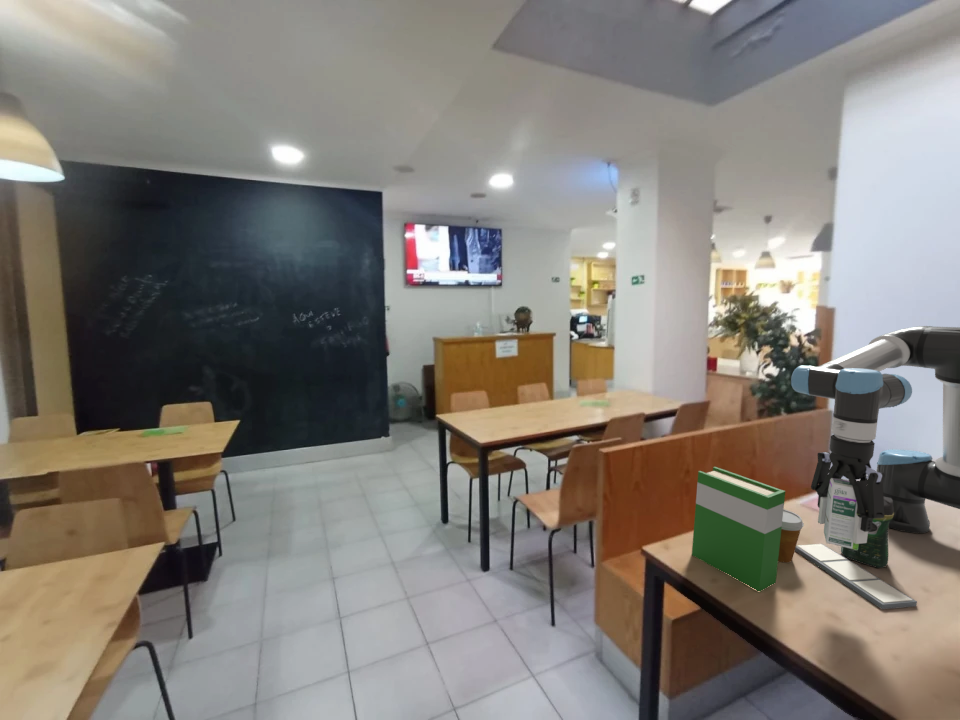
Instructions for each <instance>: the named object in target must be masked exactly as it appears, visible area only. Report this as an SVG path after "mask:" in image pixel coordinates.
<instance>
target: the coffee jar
mask: <svg viewBox="0 0 960 720" xmlns="http://www.w3.org/2000/svg"><path fill="white" fill-rule="evenodd" d="M883 497H884V496H883ZM893 516H894V507H893V500H892V499H891V498H889V497H884V518H876V519H873V522H872V530H871V531H868V536H867V543H861V544H859V546H858V550H854V549H850V548H846V547H842V546H840V553H841V555H842V556H843V557H845V558H847V559H848V560H852V561H855V562H856V563H857V562H858V563H860V564H863V565H867V566H869V567H874V568H878V569H879V568H885V567H887V566H888V563H889V522H890V520H891V519H892V518H893Z"/></svg>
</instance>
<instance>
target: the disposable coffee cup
mask: <svg viewBox="0 0 960 720" xmlns="http://www.w3.org/2000/svg"><path fill="white" fill-rule="evenodd" d="M804 524H805V523H804V522H803V518H802V517H801V516H800V515H798V514H797V513H795V512H793V511H791V510H787V509H785V508H784V510H783V519H782V528H781V538H780V547H779V556H778V563H779V562H780V563H791V562H792V561H793V559H794V555H795V552H796V551H795V548H796V545H797V543H798V541H799V537H800V533H801V531H802V529H803V527H804V526H805V525H804Z"/></svg>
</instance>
